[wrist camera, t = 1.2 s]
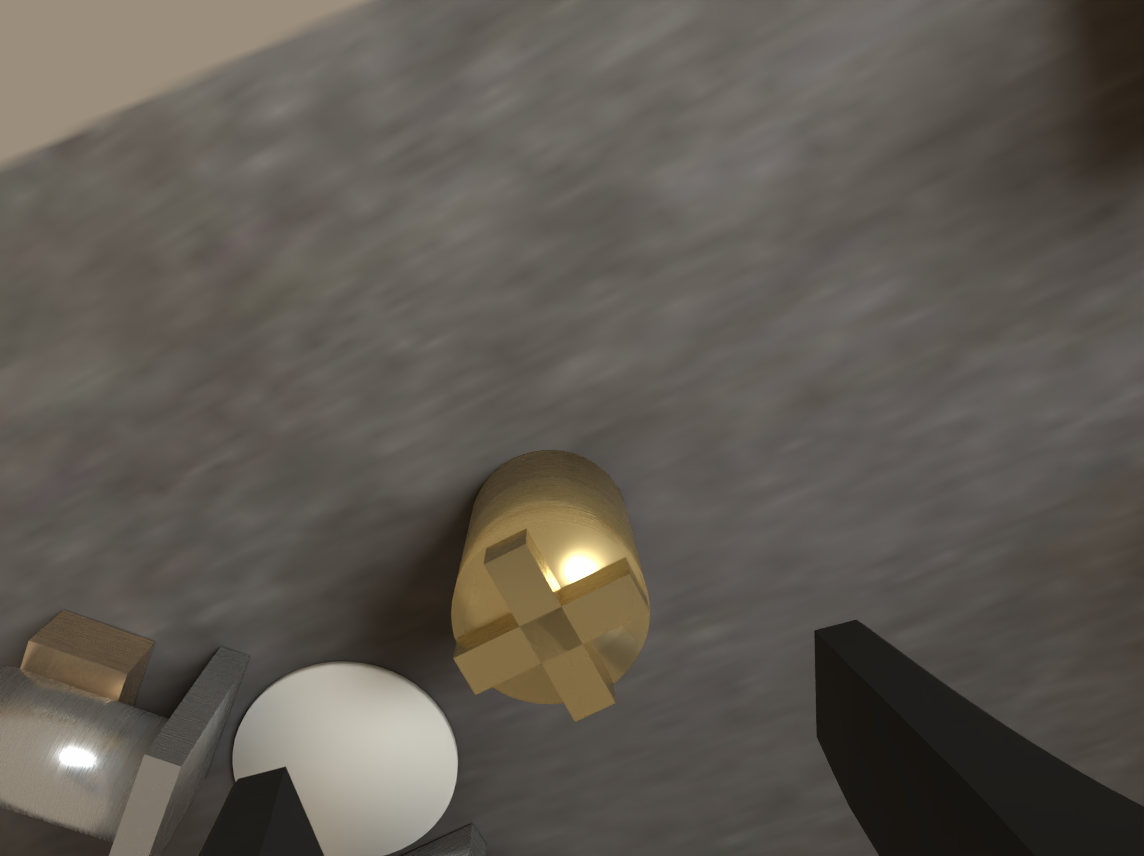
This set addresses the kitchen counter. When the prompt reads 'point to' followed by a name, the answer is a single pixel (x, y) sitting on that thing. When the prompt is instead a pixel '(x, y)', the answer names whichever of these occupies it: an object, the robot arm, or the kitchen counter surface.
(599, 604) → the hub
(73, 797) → the shaft
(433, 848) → the shaft
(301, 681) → the seat
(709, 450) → the kitchen counter surface
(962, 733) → the robot arm
